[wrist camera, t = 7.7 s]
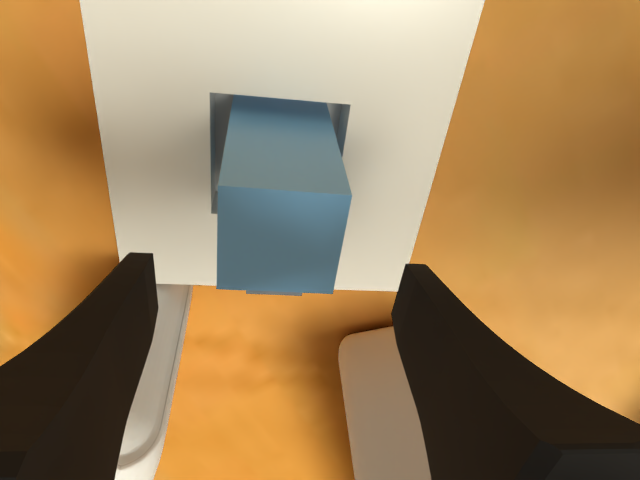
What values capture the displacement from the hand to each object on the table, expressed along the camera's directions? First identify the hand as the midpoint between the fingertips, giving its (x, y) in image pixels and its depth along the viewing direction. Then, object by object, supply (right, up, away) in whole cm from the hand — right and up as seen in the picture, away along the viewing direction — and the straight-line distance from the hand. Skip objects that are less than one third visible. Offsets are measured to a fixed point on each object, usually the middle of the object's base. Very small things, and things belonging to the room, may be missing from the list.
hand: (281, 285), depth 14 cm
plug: (-1, +6, +8) cm, 10 cm away
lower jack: (-1, +6, +8) cm, 10 cm away
